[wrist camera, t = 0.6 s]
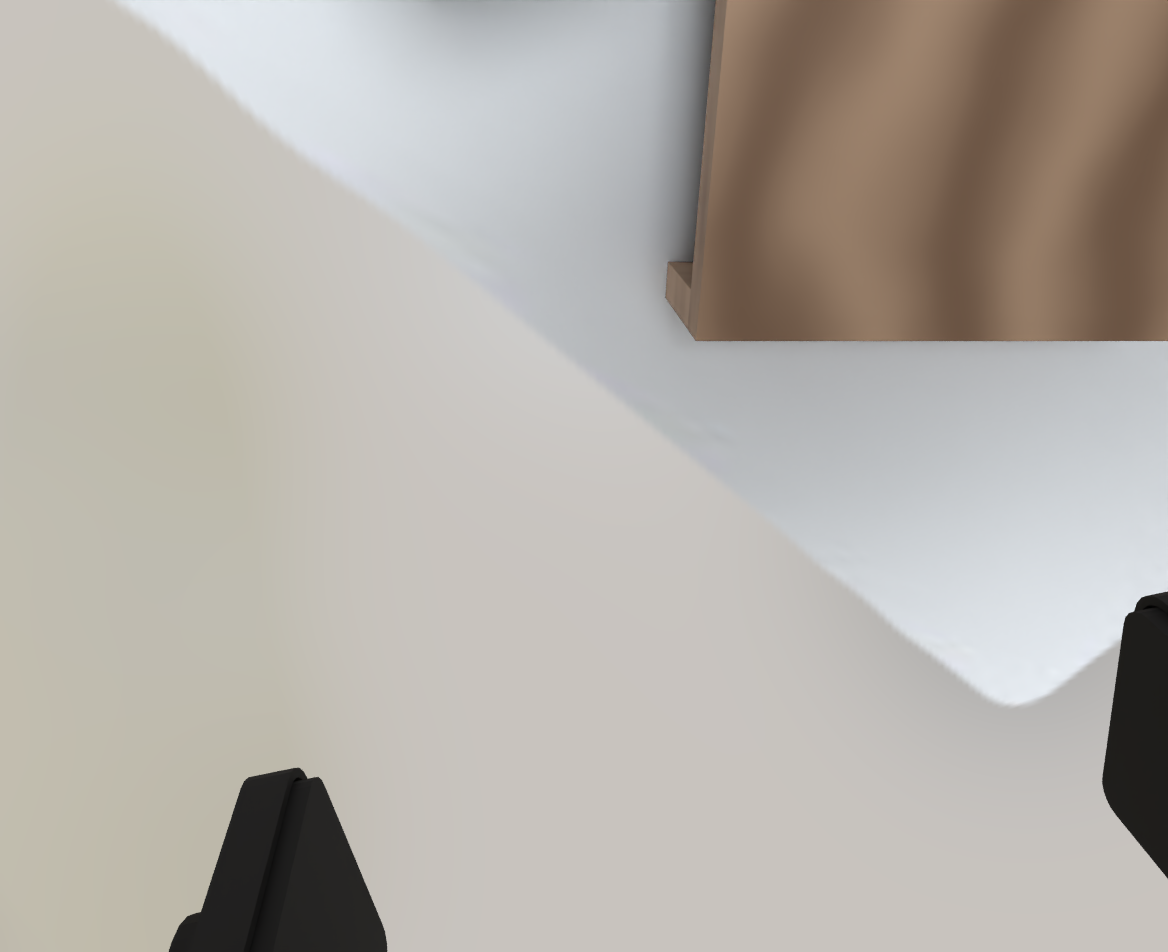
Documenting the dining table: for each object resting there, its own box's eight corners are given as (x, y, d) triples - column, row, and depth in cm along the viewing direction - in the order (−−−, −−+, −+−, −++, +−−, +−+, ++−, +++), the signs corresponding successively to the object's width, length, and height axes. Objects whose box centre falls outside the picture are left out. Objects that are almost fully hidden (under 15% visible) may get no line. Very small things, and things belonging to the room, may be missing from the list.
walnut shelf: (1232, -129, 33) (1379, -161, 27) (1105, 299, 40) (1202, 340, 34) (699, -162, 30) (745, -204, 25) (665, 297, 38) (695, 341, 32)
